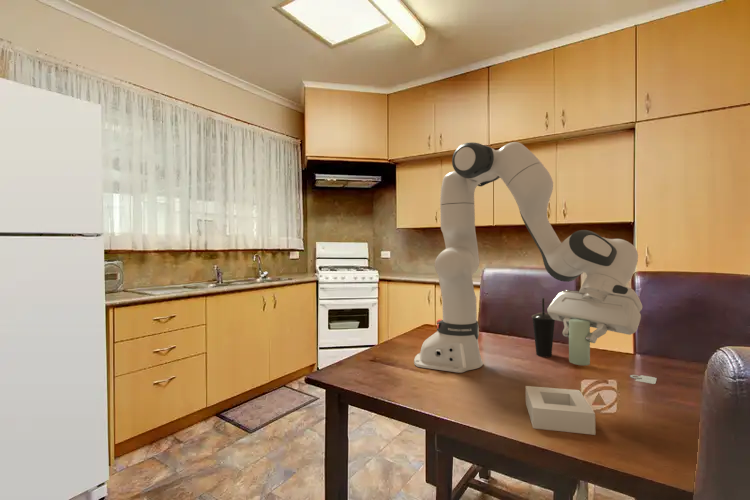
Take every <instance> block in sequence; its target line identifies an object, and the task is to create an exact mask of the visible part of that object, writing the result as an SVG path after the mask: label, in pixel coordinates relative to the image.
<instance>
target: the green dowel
mask: <svg viewBox="0 0 750 500" xmlns="http://www.w3.org/2000/svg"><path fill="white" fill-rule="evenodd" d="M588 332H590V333H591V327H590V321H586V320H581V319H570V320H569V337H568V362H569V363H570V364H573V365H576V366H577V365H578V366H589V365H590V364H591V342H588V341H587V340H586V336H587V334H588Z"/></svg>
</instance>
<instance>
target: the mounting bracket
mask: <svg viewBox="0 0 750 500" xmlns="http://www.w3.org/2000/svg"><path fill="white" fill-rule="evenodd" d="M629 377H630V378H631V379H634V381H636V382H641V383H646V384H650V385H651V384H652V385H655V384H656V382H657V377H654V376H648V375H641V374H640V375H636V374H630V375H629Z"/></svg>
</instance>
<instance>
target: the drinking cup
mask: <svg viewBox="0 0 750 500" xmlns="http://www.w3.org/2000/svg"><path fill="white" fill-rule="evenodd" d="M541 303H542V304H541V306H542V307H541V308H542V309H541V310H542V311H541V312H538V313H535V314H532V315H531V318H532V325H533V334H534V343H535V353H536V356H538V357H542V358H551V357H552V354H553V344H554V333H555V332H554V330H555V322H556V320H553V319H552V318H551V316H550V315H549V314H548V312H546V311H545V298H544V297H543V298H541Z"/></svg>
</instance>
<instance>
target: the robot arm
mask: <svg viewBox="0 0 750 500" xmlns="http://www.w3.org/2000/svg"><path fill="white" fill-rule="evenodd" d="M451 165H452V168H453V170H452V171H450V172H447V173H446V174H445V175H444V176H443V178H442V181H441V187H440V199H439V202H440V204H439V205H440V230H441V232H442V236H443V239H444V240H443V241H444V244H445V249H443V250H442V251H441V252H440V253H438V255H437V256H436V258H435V260H434V270H435V272H436V274H437V278H438V282H439V287H440V292H441V299H442V302H441V304H442V318H438V319H437V320H436V331H435V332H434V333H433V334H432V335H429V336H428V337H427V338H426V339H425V340H424V341H423V343H422V345H421V348H420V352H419V353H417V354H416V355H415V357H414V359H413V363H414V365H415V366H416V367H418V368H423V369H432V370H439V371H445V372H452V373H459V374H462V373H465V372H468V371H471V370H476V369H479V368H481V367H482V366H483V364H484V363H483V359H482V356H481V352H480V347H479V335H480V333H479V331H480V330H479V329H480V328H479V327H480V326H479V321H478V318H477V315H478V312H477V311H478V309H477V296H476V294H475V288H474V282H473V281H474V280H473V275H475V273H477V272H478V269H479V266H480V257H479V247H478V239H477V234H476V222H475V221H476V215H475V214H476V213H475V192H476V188H477V186H478V187H483V186H485V185H488V184H489V183H493V182H496V181H497V180H499V179H501V180H502V182H503V183H504V184H505V186H506V188H508V190H509V191H510V193H511V195H512V196H513V198H514V200H515V202H516V205H517V207H518V210H519V213H520V217H521V219H522V221H523V223H524V225H525V227H526V229H527V231H528V232H529V234H530V236H531V238H532V239H533V241H534V243H535V245H536V246H537V249H538V250H539V252H540V255H541V258H542V261H543V265H544V267H545V270H546V272H547V273H548V274H549V275H550V276H551V277H552V278H554V279H556V280H557V281H560V282H572V281H575V280H576V279H577V278H579V277H580V276H581V275H582V274H583V273H585V275H586V278H585V279H584V282H583V283H582V285H581V286H580V289H579V290H571V289H564V290H563V291H560V292H558V293H557V295H556V296H555V297H554V298H553V299H552V301H551V302H550V304H549V305H548V307H547V313H548V314H549V315H550V316H551V318H552V319H553V320H555V321H557V322H563V326H564V328H563V330H562V333H561V334H562V335H563V337H565V338H569V320H570V319H581V320H586V321H590V328H593V329H595V330H593V331H592V332H591V331H590V332H588V334H587V336H586V340H587V341H588V342H590V344H595V343H596V342H597V340H598V339H599V338H601V337H602V336H604V335H605V334H606V333H607V332H608V331H609V332H614V333H618V334H624V335H629V336H630V335H633V334H635V333H636V332H637V330H638V328H639V325H640V322H641V319H642V315H641V311H642V310H643V304H642V302H641V299H640V298H639V295H638V294H637V292H636V291H635V290H634V289H633V288H631V287H628V286H627V284H628V283H629V282H630V281H631V279H632V278H633V275H634V273H635V270H636V267H637V265H638V260H639V252H638V251H637V248H636V247H635V245H634V244H632V243H631V242H629V241H627V240H625V239H622V238H606V237H602V236H601V235H600V234H598V233H596V232H594V231H592V230H587V229H581V230H580V229H579V230H576V231H574V232H573V233H571V235H569V236H568V237H567V238H565V239H564V240H563V241H561V240H560V238H559V237H558V235H557V233H556V231H555V230H554V228H553V226H552V225H551V223H550V221H549V218H548V206H549V203H550V200H551V196H552V194H553V190H554V181H553V178H552V176H551V174H550V172H549V170H548V169H547V168H546V166H544V164H543V163H542V162H541V160H540V159H539V158H538V157H537V156H536V155H535V154H534V153H533V152H532V151H531V150H530V149H528V147H527V146H525V145H524V144H523V143H522V142H518V141H513V142H509V143H506V144H505V145H502V146H501V147H500V148H499V149H494V148H492V147H490V146H489V145H485V144H482V143H480V142H466V143H462V144H460V145H459V146H458V147H457V148H456V149H455V151H454V152H453V155H452V158H451Z"/></svg>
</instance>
